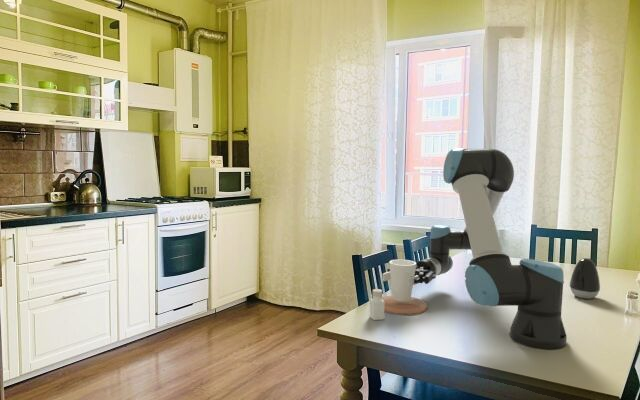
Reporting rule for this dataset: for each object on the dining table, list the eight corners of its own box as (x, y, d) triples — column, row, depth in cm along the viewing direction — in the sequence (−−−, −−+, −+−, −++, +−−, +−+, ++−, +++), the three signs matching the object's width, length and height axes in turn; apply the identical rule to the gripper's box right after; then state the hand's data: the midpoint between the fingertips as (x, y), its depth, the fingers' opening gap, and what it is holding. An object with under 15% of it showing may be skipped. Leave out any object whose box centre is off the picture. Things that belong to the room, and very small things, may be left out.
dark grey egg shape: (602, 296, 181) (604, 258, 179) (595, 302, 173) (598, 262, 172) (573, 291, 188) (575, 254, 186) (565, 296, 180) (568, 258, 179)
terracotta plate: (432, 315, 157) (432, 311, 157) (378, 314, 158) (378, 310, 158) (421, 299, 175) (421, 295, 175) (373, 298, 176) (373, 294, 175)
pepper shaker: (373, 321, 151) (374, 292, 150) (368, 316, 155) (369, 289, 154) (384, 320, 152) (385, 291, 151) (380, 315, 156) (380, 288, 155)
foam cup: (414, 303, 161) (415, 266, 159) (387, 301, 163) (388, 264, 161) (415, 295, 170) (416, 260, 169) (389, 293, 172) (390, 258, 171)
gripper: (453, 283, 172) (423, 297, 155) (401, 273, 186) (369, 284, 170) (454, 263, 171) (424, 275, 155) (402, 255, 186) (369, 264, 169)
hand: (395, 280), depth 162 cm, fingers closed on foam cup, 9 cm apart
